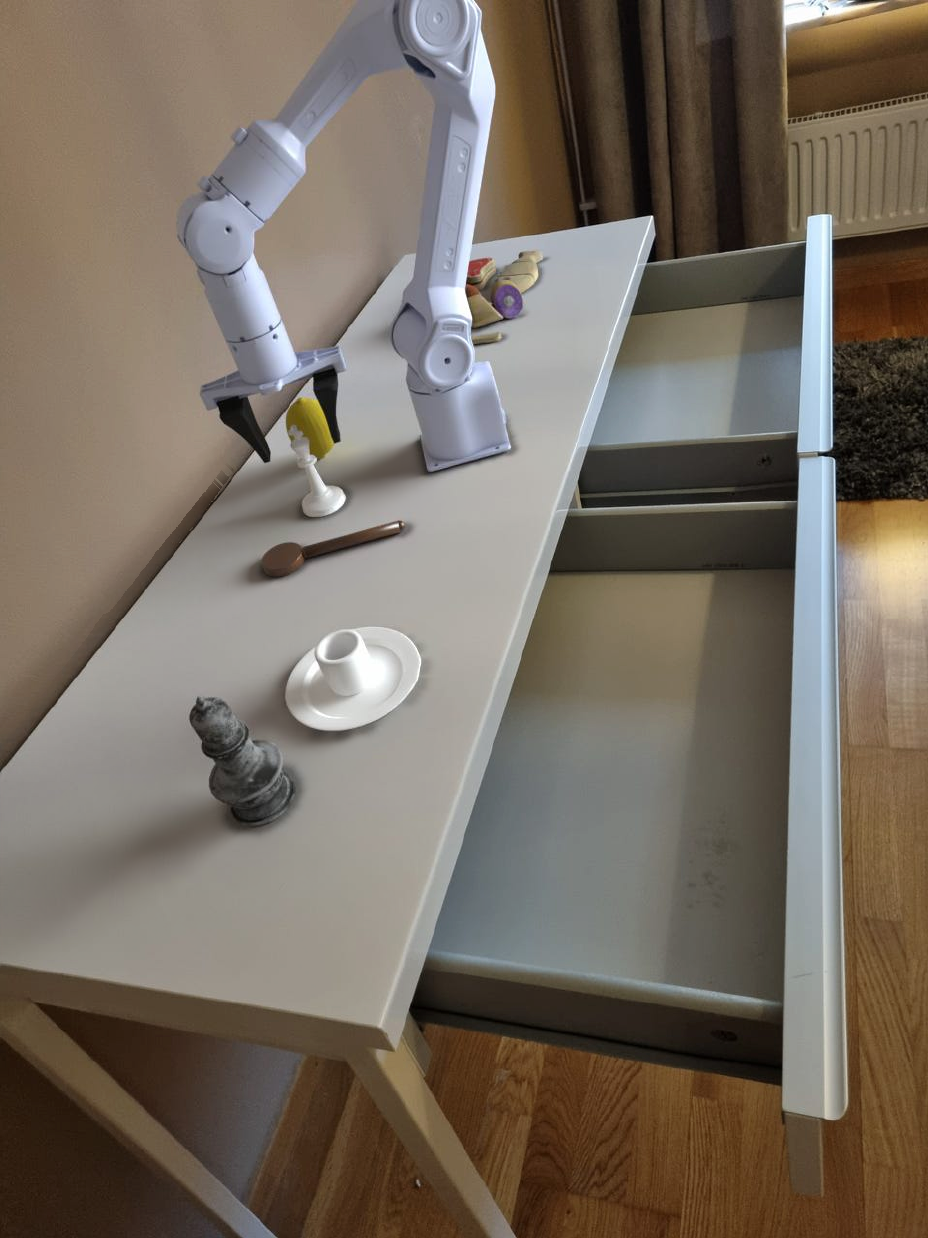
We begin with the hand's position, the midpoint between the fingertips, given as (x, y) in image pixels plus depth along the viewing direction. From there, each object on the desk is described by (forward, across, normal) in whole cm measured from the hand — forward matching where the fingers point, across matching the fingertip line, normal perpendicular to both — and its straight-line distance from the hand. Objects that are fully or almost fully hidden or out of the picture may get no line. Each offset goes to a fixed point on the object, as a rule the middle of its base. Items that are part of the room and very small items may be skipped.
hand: (302, 447), depth 93 cm
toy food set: (+8, +24, +41) cm, 48 cm away
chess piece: (+8, 0, 0) cm, 8 cm away
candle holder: (+8, +2, -29) cm, 30 cm away
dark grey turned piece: (+7, -6, -39) cm, 40 cm away
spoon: (+7, 0, -9) cm, 12 cm away
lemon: (+8, 0, +10) cm, 12 cm away
